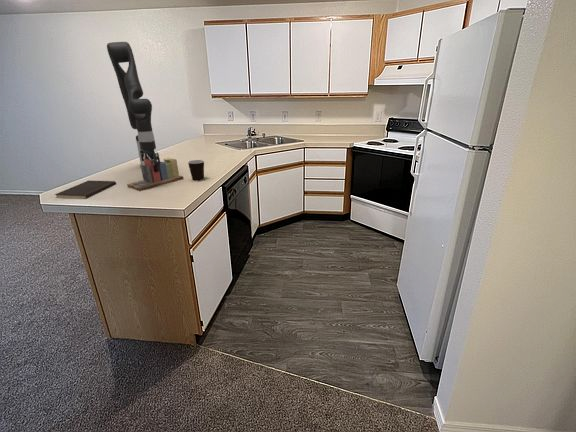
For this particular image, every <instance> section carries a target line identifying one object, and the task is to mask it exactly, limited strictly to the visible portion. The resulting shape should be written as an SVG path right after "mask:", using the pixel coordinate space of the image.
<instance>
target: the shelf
mask: <svg viewBox="0 0 576 432" xmlns="http://www.w3.org/2000/svg"><path fill="white" fill-rule="evenodd" d="M158 167H159V172H160V178H161V181H159V182H155V183H154V182H153V181H152V176H151V171H150V167H148V166H145V165H141V164H140V169H141V170H140V171H141V174H142V175H141V176H142V180H138V181H134V182H131V183H127V186H126V187H128V189H132V190H135V191H138V192H143V191H146V190H149V189H153V188H157V187H160V186H163V185H167V184H171V183H174V182H178V181H182V180H184V176H181V175H180V174H179V173H180V172H179V167H178V161H177V159H175V158H171V157H167V158H163V161H160V164H159V165H158Z"/></svg>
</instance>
